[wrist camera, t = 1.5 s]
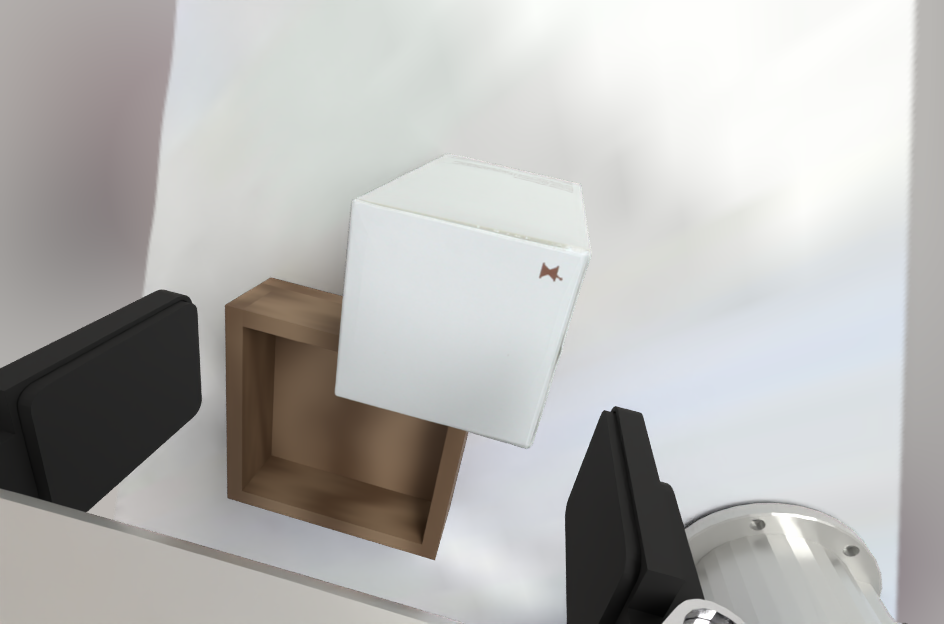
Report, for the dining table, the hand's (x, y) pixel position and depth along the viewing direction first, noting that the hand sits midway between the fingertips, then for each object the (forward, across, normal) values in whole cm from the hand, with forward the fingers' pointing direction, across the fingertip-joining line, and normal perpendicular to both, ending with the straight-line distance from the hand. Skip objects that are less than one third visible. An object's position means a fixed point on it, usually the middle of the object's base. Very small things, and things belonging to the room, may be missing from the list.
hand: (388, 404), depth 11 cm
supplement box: (+18, -1, +1) cm, 18 cm away
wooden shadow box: (+17, +5, +14) cm, 22 cm away
